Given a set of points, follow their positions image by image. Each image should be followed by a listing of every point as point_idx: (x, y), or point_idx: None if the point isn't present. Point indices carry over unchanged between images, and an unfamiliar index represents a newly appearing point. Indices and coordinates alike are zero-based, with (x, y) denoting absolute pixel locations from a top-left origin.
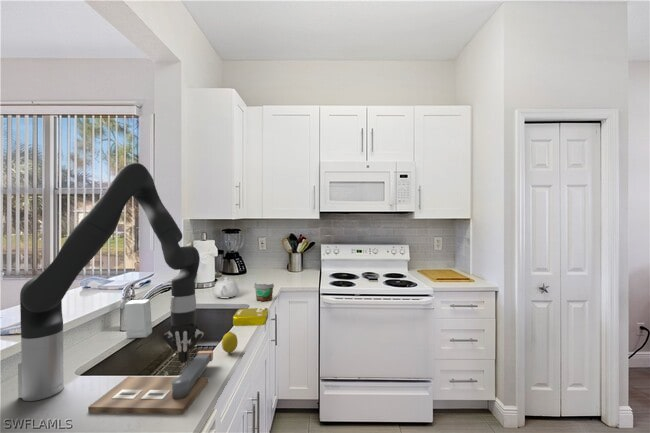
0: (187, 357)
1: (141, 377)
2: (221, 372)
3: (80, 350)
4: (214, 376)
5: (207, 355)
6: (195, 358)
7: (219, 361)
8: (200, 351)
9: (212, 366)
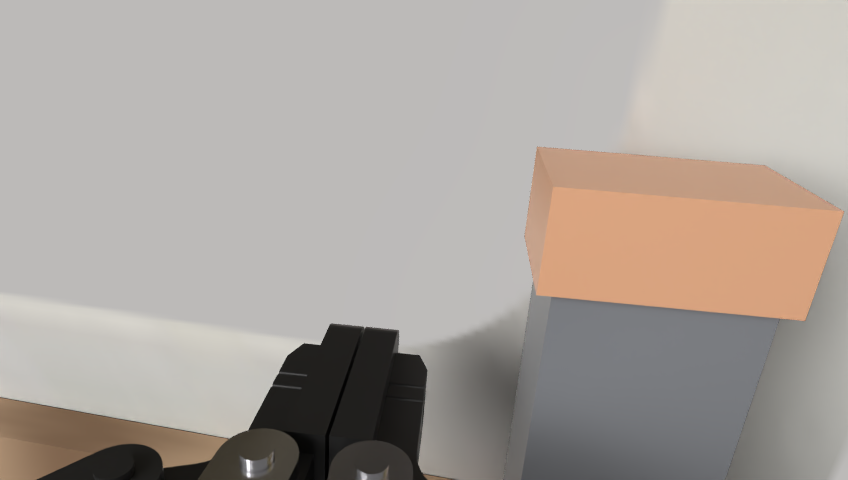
0: (419, 451)
1: (19, 453)
2: (834, 357)
3: None
4: (751, 427)
5: (733, 376)
6: (545, 445)
7: (821, 24)
8: (586, 222)
9: None
